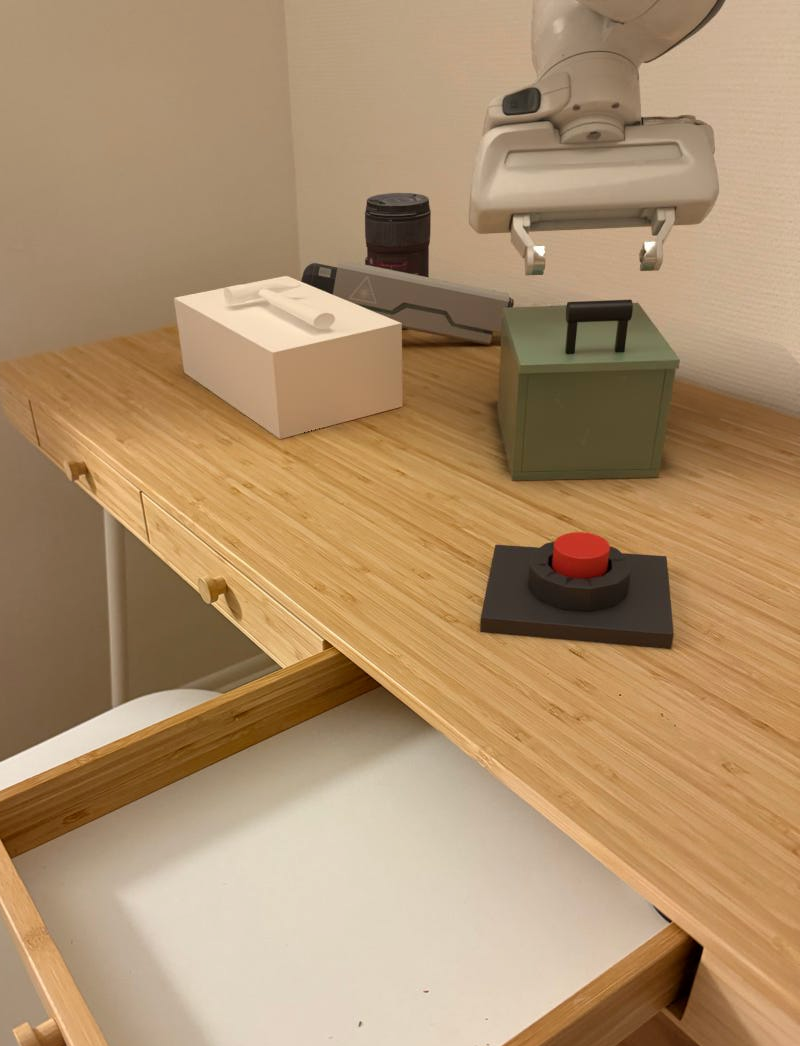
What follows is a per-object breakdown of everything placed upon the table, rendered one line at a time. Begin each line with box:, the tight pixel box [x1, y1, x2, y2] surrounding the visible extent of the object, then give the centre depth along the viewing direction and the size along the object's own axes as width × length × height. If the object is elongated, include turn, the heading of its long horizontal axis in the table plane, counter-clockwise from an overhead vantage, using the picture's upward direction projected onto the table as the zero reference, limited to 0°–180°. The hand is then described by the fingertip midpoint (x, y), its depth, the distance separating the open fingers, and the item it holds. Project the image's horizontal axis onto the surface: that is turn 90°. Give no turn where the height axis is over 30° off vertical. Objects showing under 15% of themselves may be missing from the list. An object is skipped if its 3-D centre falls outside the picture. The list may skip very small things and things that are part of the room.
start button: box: [552, 531, 611, 579], centre depth 64 cm, size 4×4×2 cm
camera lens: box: [364, 192, 432, 330], centre depth 120 cm, size 8×8×15 cm
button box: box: [479, 541, 675, 650], centre depth 65 cm, size 12×10×4 cm
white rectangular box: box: [173, 275, 403, 440], centre depth 103 cm, size 14×25×11 cm, turn 29°
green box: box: [496, 317, 677, 482], centre depth 87 cm, size 16×13×10 cm
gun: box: [300, 259, 515, 346], centre depth 115 cm, size 2×25×10 cm, turn 85°
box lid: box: [502, 299, 681, 374], centre depth 82 cm, size 16×13×5 cm
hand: (593, 269), depth 79 cm, fingers open, 8 cm apart
